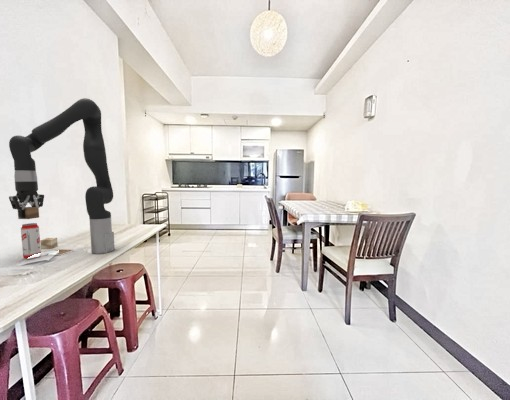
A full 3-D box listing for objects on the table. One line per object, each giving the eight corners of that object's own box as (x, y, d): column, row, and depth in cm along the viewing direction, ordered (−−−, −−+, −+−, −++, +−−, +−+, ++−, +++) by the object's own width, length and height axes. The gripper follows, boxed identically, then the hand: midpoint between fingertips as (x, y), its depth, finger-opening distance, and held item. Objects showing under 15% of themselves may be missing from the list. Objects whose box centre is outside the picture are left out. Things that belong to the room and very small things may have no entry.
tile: (74, 250, 123) (74, 249, 123) (59, 255, 115) (59, 254, 115) (59, 250, 124) (59, 249, 124) (43, 255, 116) (43, 253, 115)
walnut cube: (39, 217, 113) (38, 207, 112) (28, 219, 108) (27, 208, 107) (29, 217, 113) (28, 206, 113) (18, 218, 108) (17, 208, 108)
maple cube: (57, 246, 131) (57, 237, 131) (51, 248, 127) (50, 239, 126) (47, 246, 131) (46, 237, 130) (41, 249, 126) (40, 240, 125)
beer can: (40, 254, 116) (37, 222, 115) (42, 257, 112) (39, 223, 111) (22, 257, 111) (19, 224, 110) (24, 260, 108) (21, 225, 106)
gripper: (16, 180, 102) (19, 220, 103) (48, 180, 116) (51, 215, 117) (0, 180, 102) (4, 219, 104) (34, 180, 116) (37, 215, 118)
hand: (29, 217), depth 110 cm, fingers closed on walnut cube, 5 cm apart
